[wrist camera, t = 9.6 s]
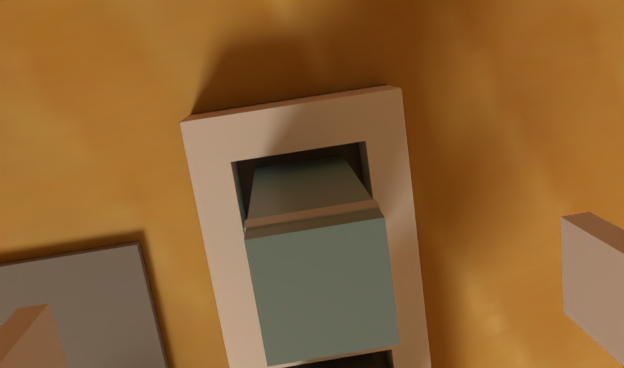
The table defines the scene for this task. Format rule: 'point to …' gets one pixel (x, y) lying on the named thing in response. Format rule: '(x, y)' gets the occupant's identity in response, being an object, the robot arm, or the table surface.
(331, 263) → the plug
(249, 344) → the power strip
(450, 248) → the table surface
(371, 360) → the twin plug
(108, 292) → the pad
